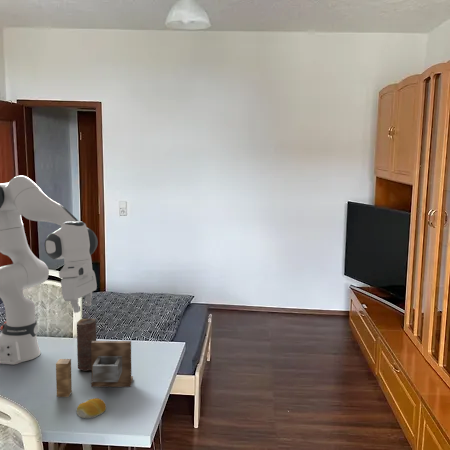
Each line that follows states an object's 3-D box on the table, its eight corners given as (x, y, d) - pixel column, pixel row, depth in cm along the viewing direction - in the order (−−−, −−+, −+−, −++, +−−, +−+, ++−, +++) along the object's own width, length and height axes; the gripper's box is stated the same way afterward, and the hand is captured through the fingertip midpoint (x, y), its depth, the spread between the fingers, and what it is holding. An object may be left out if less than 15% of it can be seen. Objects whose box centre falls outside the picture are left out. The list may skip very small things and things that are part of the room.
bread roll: (110, 410, 160) (110, 399, 159) (88, 422, 152) (88, 410, 152) (94, 402, 164) (94, 391, 164) (72, 413, 157) (71, 402, 157)
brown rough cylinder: (91, 374, 185) (90, 324, 182) (73, 372, 186) (72, 322, 184) (100, 366, 192) (99, 317, 190) (83, 364, 194) (82, 316, 191)
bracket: (85, 398, 167) (84, 353, 164) (95, 379, 181) (94, 337, 179) (126, 398, 167) (125, 353, 165) (132, 379, 182) (132, 337, 179)
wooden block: (56, 396, 167) (55, 363, 166) (60, 391, 171) (59, 358, 170) (68, 396, 168) (67, 363, 166) (71, 391, 172) (70, 359, 170)
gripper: (82, 265, 175) (86, 302, 175) (56, 273, 154) (60, 316, 155) (99, 263, 174) (102, 301, 174) (75, 272, 154) (79, 315, 154)
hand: (82, 308), depth 164 cm, fingers open, 8 cm apart
